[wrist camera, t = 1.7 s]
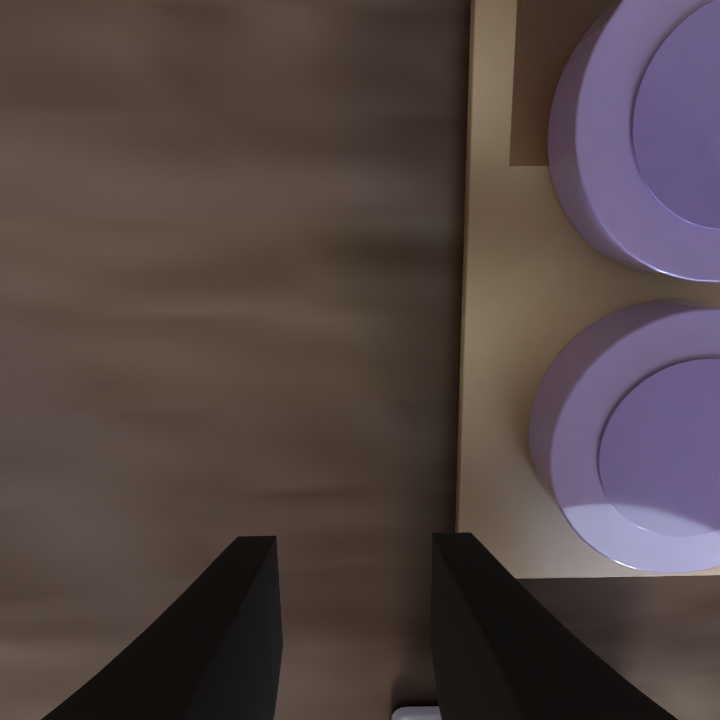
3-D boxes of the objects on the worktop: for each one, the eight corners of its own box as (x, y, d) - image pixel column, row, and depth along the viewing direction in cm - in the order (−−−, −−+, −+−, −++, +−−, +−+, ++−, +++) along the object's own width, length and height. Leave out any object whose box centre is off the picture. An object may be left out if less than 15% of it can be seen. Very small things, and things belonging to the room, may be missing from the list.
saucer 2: (760, 534, 16) (812, 574, 14) (520, 539, 16) (542, 579, 14) (803, 295, 14) (869, 306, 13) (535, 300, 14) (562, 311, 13)
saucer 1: (808, 273, 14) (875, 280, 12) (537, 277, 14) (564, 285, 12) (867, -40, 12) (955, -86, 11) (557, -35, 12) (593, -80, 11)
